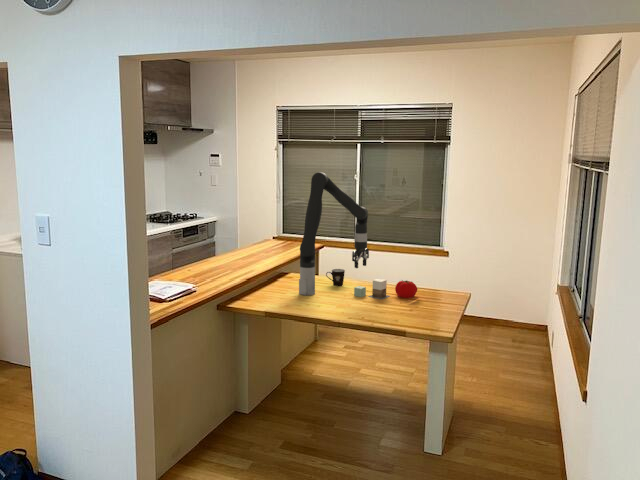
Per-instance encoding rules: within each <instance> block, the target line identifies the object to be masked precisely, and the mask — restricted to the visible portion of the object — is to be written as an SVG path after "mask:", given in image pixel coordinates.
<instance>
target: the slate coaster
mask: <svg viewBox="0 0 640 480" xmlns="http://www.w3.org/2000/svg"><path fill="white" fill-rule="evenodd" d="M367 298H371V299H376V300H385V299H388V298H391V295H387V294H386V297H383V298H377V297H372V294H371V295H368V296H367Z"/></svg>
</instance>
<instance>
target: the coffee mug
mask: <svg viewBox="0 0 640 480" xmlns="http://www.w3.org/2000/svg"><path fill="white" fill-rule="evenodd" d="M345 273H346V270H345V269H343V268H333V269H331V271H327V272H326V273H325V276H326V278H328V279H329V280H330V281H331V282H332V285H333V286H334V287H343V286H344V278H345ZM328 274H331V277H332V278H330V277H328ZM342 285H343V286H342Z"/></svg>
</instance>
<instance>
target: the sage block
mask: <svg viewBox="0 0 640 480" xmlns="http://www.w3.org/2000/svg"><path fill="white" fill-rule="evenodd" d="M366 291H367V288H366V286H361V285H357V286H355V287H353V296H354V297H358V298H363V297H365V296H366V295H367V292H366Z"/></svg>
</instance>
